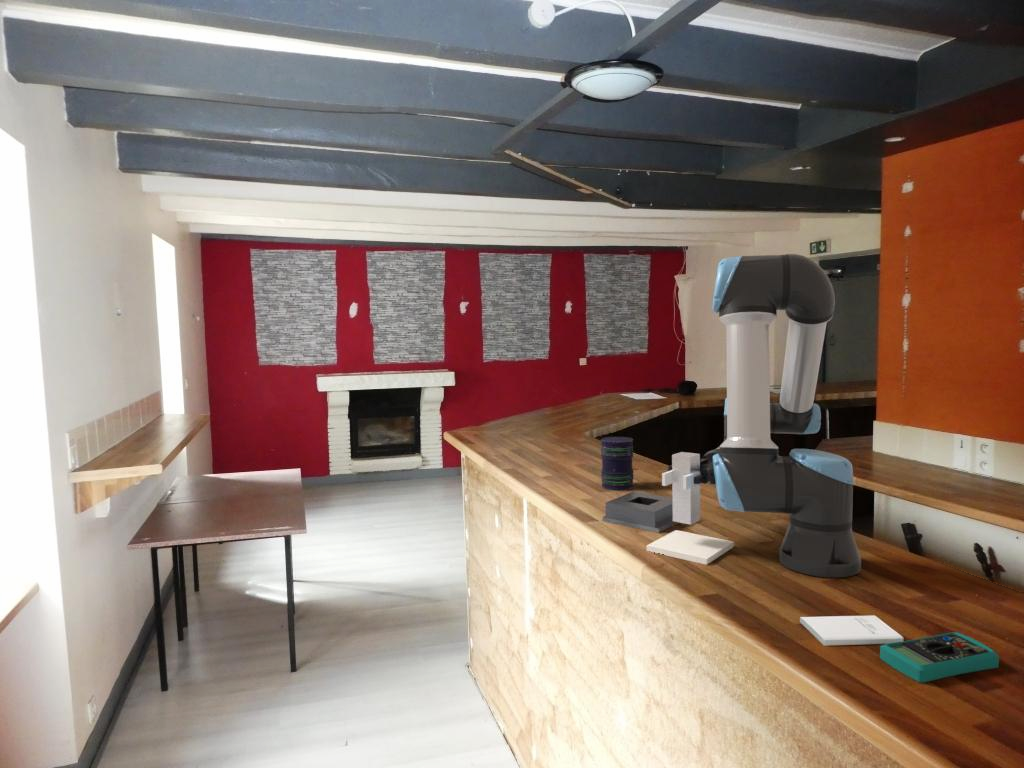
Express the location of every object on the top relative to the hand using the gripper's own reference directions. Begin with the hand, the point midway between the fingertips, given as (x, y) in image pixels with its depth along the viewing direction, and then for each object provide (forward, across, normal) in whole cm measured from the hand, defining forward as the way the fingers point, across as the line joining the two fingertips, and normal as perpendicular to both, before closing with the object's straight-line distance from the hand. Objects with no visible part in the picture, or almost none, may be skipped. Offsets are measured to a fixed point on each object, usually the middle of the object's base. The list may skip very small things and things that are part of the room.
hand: (674, 481), depth 142 cm
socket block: (-20, +18, -16) cm, 31 cm away
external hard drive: (+15, -40, -17) cm, 46 cm away
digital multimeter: (+17, -52, -17) cm, 57 cm away
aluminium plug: (-5, 0, -10) cm, 11 cm away
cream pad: (-5, -1, -16) cm, 17 cm away
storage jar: (-42, +43, -16) cm, 62 cm away
